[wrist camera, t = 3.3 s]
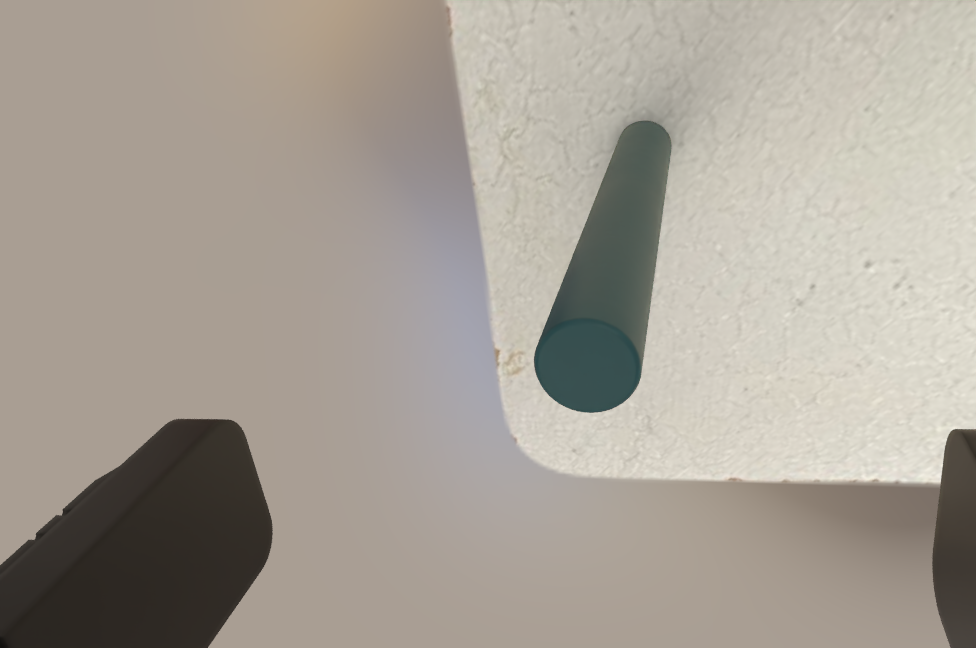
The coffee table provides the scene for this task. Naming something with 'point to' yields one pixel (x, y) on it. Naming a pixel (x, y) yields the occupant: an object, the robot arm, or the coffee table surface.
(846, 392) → the coffee table surface
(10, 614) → the robot arm
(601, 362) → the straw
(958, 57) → the coffee table surface
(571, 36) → the coffee table surface
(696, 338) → the coffee table surface
